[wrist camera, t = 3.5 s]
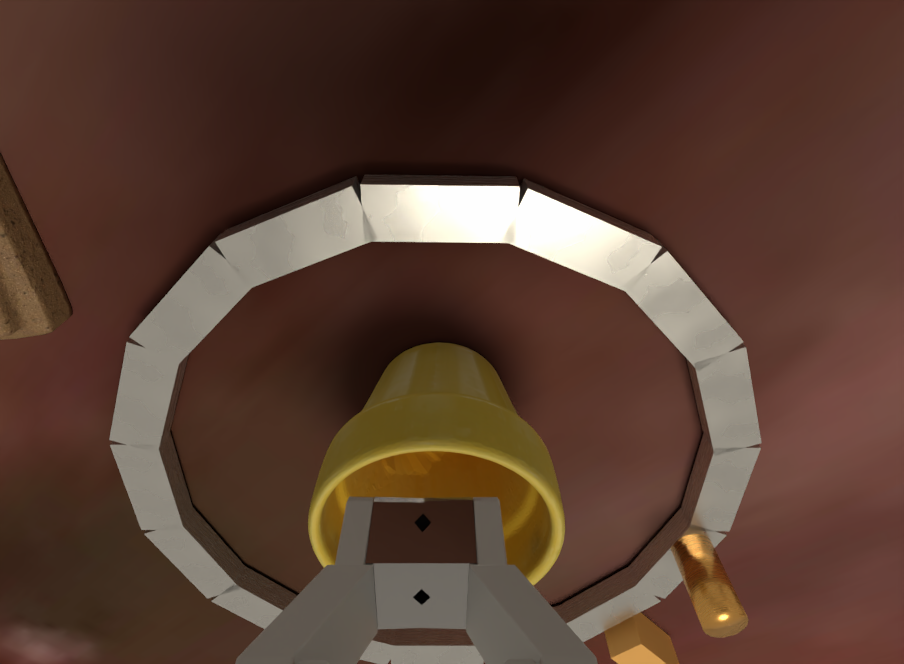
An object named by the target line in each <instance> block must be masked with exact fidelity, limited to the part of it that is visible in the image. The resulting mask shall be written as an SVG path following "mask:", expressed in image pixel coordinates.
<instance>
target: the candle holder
mask: <svg viewBox="0 0 904 664" xmlns="http://www.w3.org/2000/svg"><path fill="white" fill-rule="evenodd" d="M71 315H72V307H71V305H70V302H69V300H68V297H67V295H66V292H65V290H64V288H63V285H62V283H61V281H60V278H59V276H58V274H57V272H56V270H55V268H54V266H53V264H52V262H51V259H50V257H49V255H48V253H47V251H46V249H45V247H44V245H43V243H42V240H41V238H40V236H39V234H38V232H37V230H36V228H35V226H34V224H33V221H32V219H31V217H30V215H29V213H28V211H27V209H26V207H25V205H24V202H23V200H22V198H21V196H20V194H19V192H18V190H17V188H16V186H15V183H14V181H13V179H12V177H11V175H10V173H9V171H8V169H7V167H6V164H5V162H4V160H3V158H2V156H1V154H0V340H3V339H16V338H24V337H30V336H37V335H44V334H47V333H50V332H53V331H54V330H55V329H56V328H57V327H58V326H60V325H61V324H62V323H63V322H64V321H66V320H67V319H68V318H69V317H70V316H71Z"/></svg>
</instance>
